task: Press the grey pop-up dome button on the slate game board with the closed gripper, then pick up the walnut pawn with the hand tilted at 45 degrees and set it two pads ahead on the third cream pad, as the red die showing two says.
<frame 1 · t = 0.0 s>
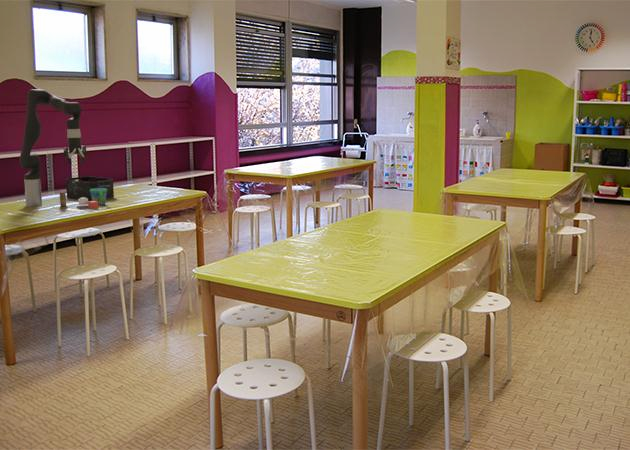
hand: (76, 164, 398), 29 cm above the table, tool pointing down, fingers open, 8 cm apart
board: (78, 209, 414), on the table
dome: (83, 200, 416), point 5 cm above the table, slide at 0.0 cm
storage bin: (90, 198, 459), on the table
pawn: (63, 208, 414), point 1 cm above the table, touching board
snack cup: (99, 205, 431), on the table
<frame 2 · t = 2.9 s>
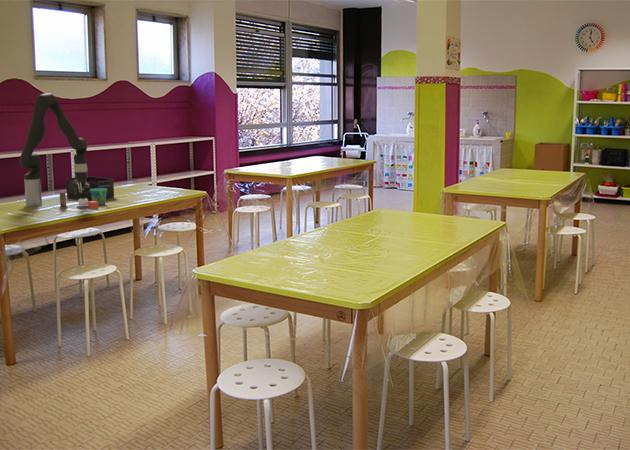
hand: (83, 198, 415), 6 cm above the table, tool pointing down, fingers closed
dome: (83, 201, 416), point 5 cm above the table, slide at -0.4 cm, touching gripper
everything else where it was.
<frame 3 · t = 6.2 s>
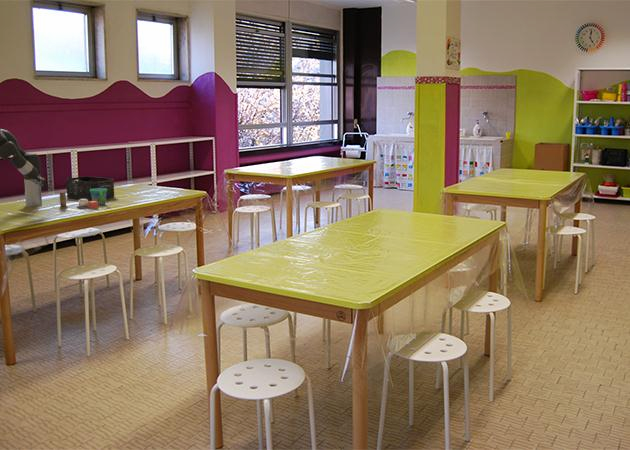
hand: (46, 187, 402), 15 cm above the table, tool tilted 45°, fingers closed
dome: (83, 202, 416), point 4 cm above the table, slide at -0.8 cm
everything else where it was.
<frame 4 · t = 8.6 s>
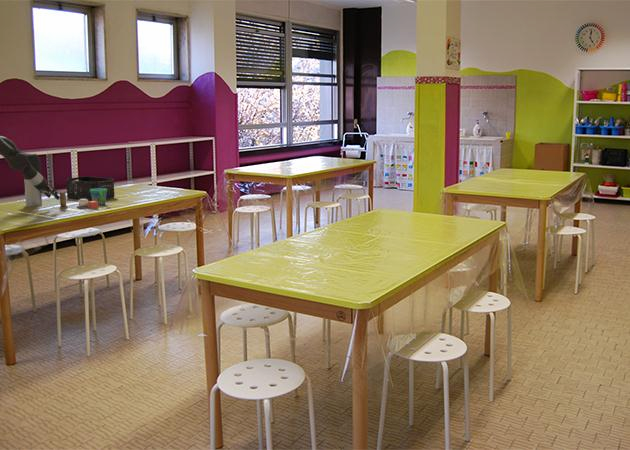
hand: (54, 197, 408), 8 cm above the table, tool tilted 45°, fingers open, 8 cm apart
nothing on the table moved.
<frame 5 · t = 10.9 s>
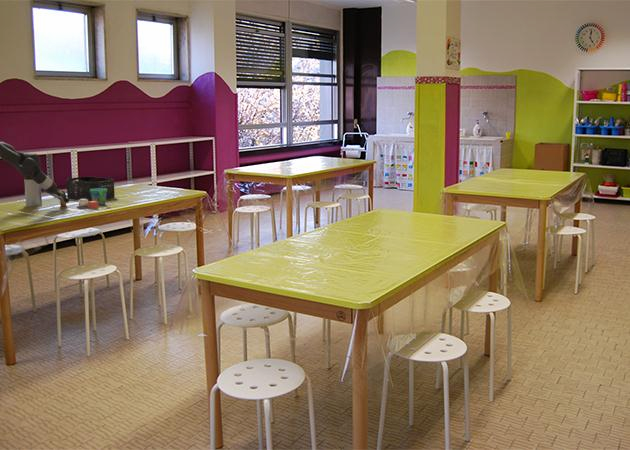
hand: (65, 201, 414), 5 cm above the table, tool tilted 45°, fingers closed on pawn, 3 cm apart
pawn: (63, 208, 414), point 1 cm above the table, touching board, gripper
everything else where it was.
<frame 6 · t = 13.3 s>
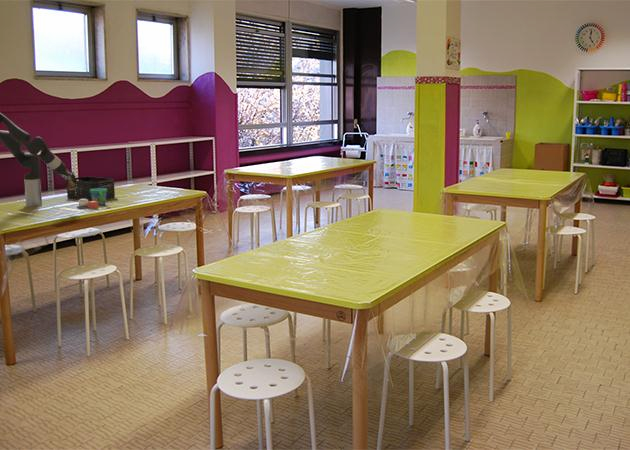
hand: (74, 182, 406), 18 cm above the table, tool tilted 45°, fingers closed on pawn, 3 cm apart
pawn: (72, 189, 405), point 14 cm above the table, touching gripper
everything else where it was.
when the fingers open (6 cm above the table, at t = 15.6 s): pawn drops 1 cm, resting on board.
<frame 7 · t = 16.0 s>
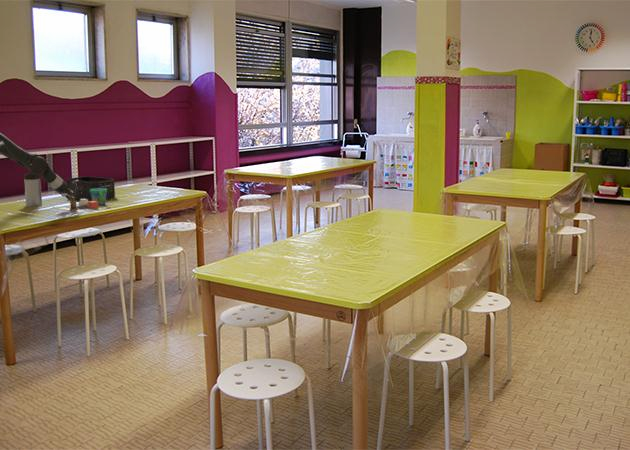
hand: (75, 200, 408), 7 cm above the table, tool tilted 45°, fingers open, 7 cm apart
pawn: (73, 209, 408), point 1 cm above the table, touching board
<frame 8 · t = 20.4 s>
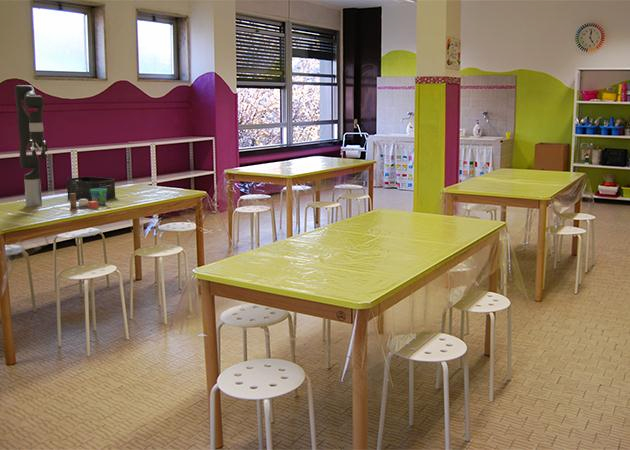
hand: (38, 158, 394), 33 cm above the table, tool pointing down, fingers open, 8 cm apart
at the end: pawn 0.1 cm from the target spot, point 1.0 cm above the table; pawn tilted 0°; dome slide at -0.8 cm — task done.
